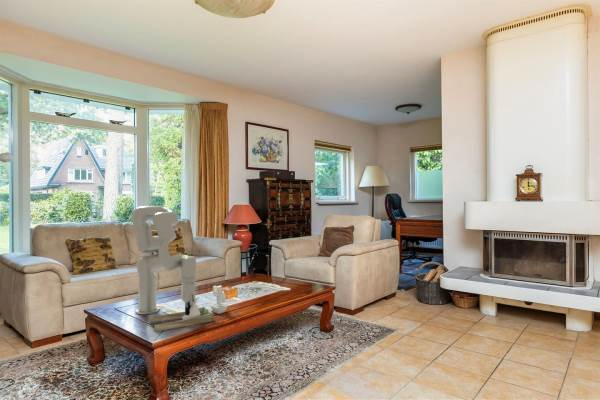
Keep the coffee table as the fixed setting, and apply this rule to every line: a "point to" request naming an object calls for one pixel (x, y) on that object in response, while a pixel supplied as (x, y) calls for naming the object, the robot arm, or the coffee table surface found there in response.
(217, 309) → the figurine
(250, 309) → the coffee table surface
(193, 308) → the sitting furry creature
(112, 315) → the coffee table surface
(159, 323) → the mats
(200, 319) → the lane
